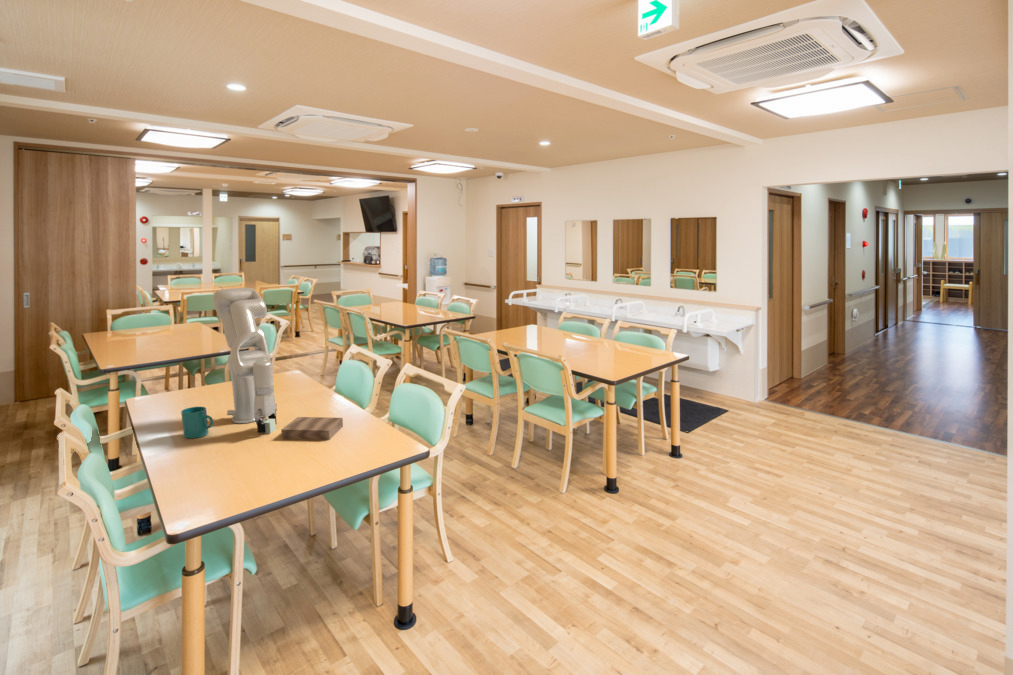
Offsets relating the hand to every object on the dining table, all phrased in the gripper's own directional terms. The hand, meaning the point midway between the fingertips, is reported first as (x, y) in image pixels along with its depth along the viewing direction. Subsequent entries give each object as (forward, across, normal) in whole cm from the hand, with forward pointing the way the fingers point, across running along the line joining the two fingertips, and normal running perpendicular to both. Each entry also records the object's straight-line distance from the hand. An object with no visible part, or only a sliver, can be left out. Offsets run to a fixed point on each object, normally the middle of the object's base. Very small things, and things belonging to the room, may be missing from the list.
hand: (267, 428), depth 229 cm
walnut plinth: (+1, 0, +20) cm, 20 cm away
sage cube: (+1, 0, 0) cm, 1 cm away
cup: (+2, +6, -26) cm, 27 cm away
